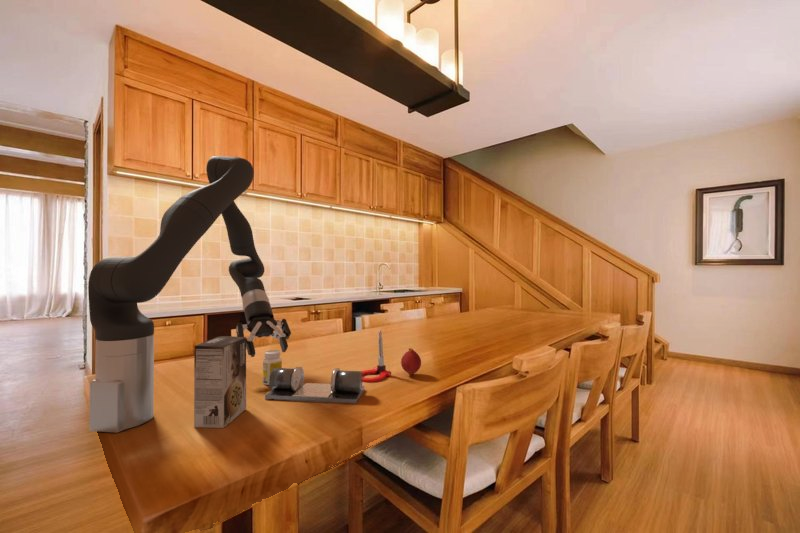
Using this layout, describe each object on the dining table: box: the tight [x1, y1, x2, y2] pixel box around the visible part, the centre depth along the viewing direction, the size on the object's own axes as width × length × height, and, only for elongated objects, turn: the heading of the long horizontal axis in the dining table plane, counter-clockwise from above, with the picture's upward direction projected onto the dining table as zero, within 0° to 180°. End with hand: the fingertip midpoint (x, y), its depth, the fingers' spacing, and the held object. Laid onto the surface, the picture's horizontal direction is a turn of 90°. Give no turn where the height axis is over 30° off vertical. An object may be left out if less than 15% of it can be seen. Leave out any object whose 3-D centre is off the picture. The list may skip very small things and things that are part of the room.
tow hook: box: [362, 330, 392, 383], centre depth 97 cm, size 8×13×9 cm
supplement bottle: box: [262, 349, 283, 386], centre depth 93 cm, size 5×5×8 cm
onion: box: [400, 347, 422, 376], centre depth 99 cm, size 6×6×8 cm
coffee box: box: [193, 335, 247, 429], centre depth 71 cm, size 9×6×16 cm
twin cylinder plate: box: [264, 366, 365, 405], centre depth 84 cm, size 22×9×6 cm, turn 84°
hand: (269, 353), depth 94 cm, fingers open, 8 cm apart
